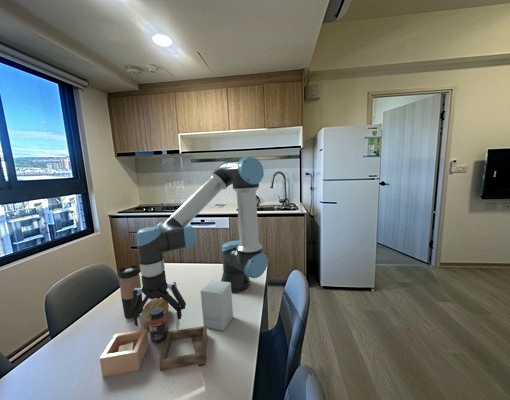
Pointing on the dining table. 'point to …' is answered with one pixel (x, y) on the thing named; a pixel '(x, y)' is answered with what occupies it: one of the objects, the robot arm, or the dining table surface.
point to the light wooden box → (124, 353)
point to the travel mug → (129, 287)
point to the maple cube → (126, 347)
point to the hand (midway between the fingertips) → (160, 330)
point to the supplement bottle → (158, 326)
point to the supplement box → (217, 304)
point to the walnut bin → (181, 361)
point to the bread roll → (150, 306)
